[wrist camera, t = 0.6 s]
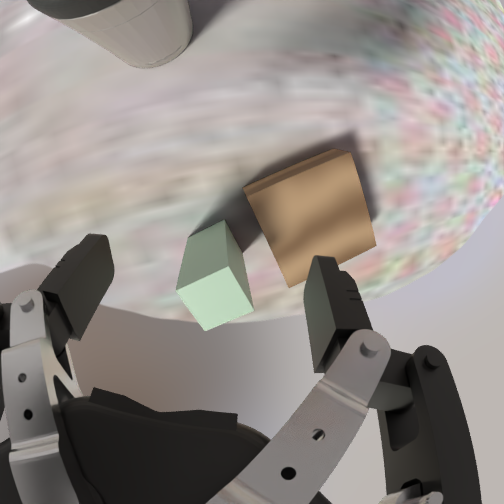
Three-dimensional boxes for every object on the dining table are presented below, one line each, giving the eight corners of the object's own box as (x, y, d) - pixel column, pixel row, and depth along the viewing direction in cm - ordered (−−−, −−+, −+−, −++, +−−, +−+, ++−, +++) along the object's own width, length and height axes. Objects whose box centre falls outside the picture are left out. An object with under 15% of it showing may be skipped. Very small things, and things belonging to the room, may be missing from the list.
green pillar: (187, 237, 34) (175, 290, 23) (224, 219, 33) (228, 266, 22) (207, 269, 36) (204, 331, 25) (242, 253, 35) (254, 310, 24)
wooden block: (242, 187, 32) (246, 196, 28) (332, 148, 31) (350, 152, 27) (280, 268, 37) (288, 288, 33) (358, 231, 36) (376, 245, 32)
